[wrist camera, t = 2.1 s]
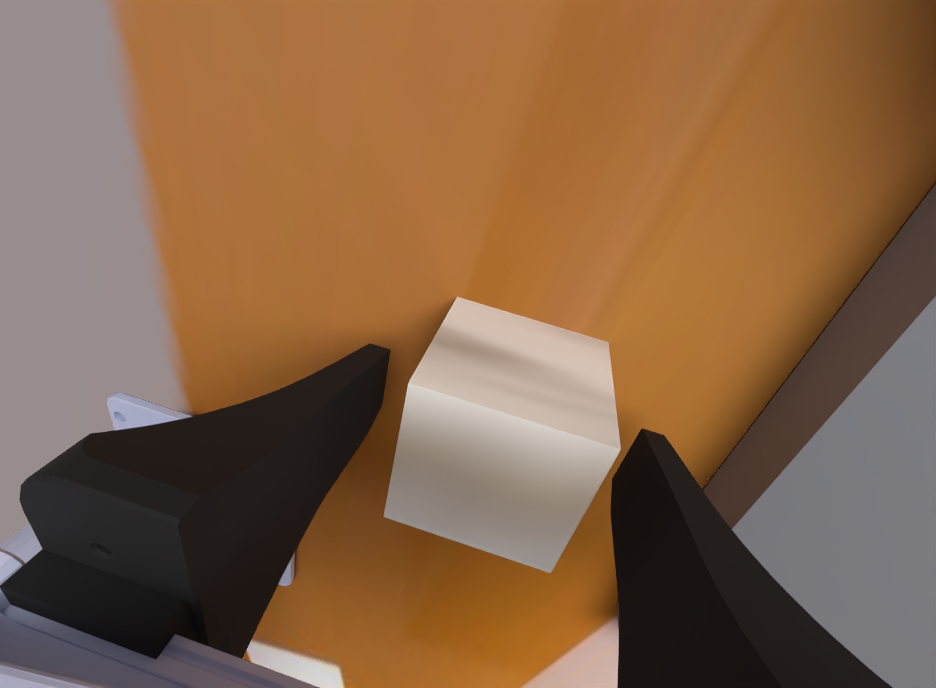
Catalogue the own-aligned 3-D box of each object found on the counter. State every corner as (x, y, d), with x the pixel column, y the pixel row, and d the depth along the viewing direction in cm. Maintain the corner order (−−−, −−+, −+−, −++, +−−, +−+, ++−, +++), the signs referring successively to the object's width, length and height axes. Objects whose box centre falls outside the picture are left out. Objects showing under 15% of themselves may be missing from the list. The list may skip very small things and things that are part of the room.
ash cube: (557, 450, 15) (550, 573, 11) (431, 410, 15) (383, 516, 12) (608, 340, 13) (620, 449, 9) (457, 295, 13) (408, 382, 9)
